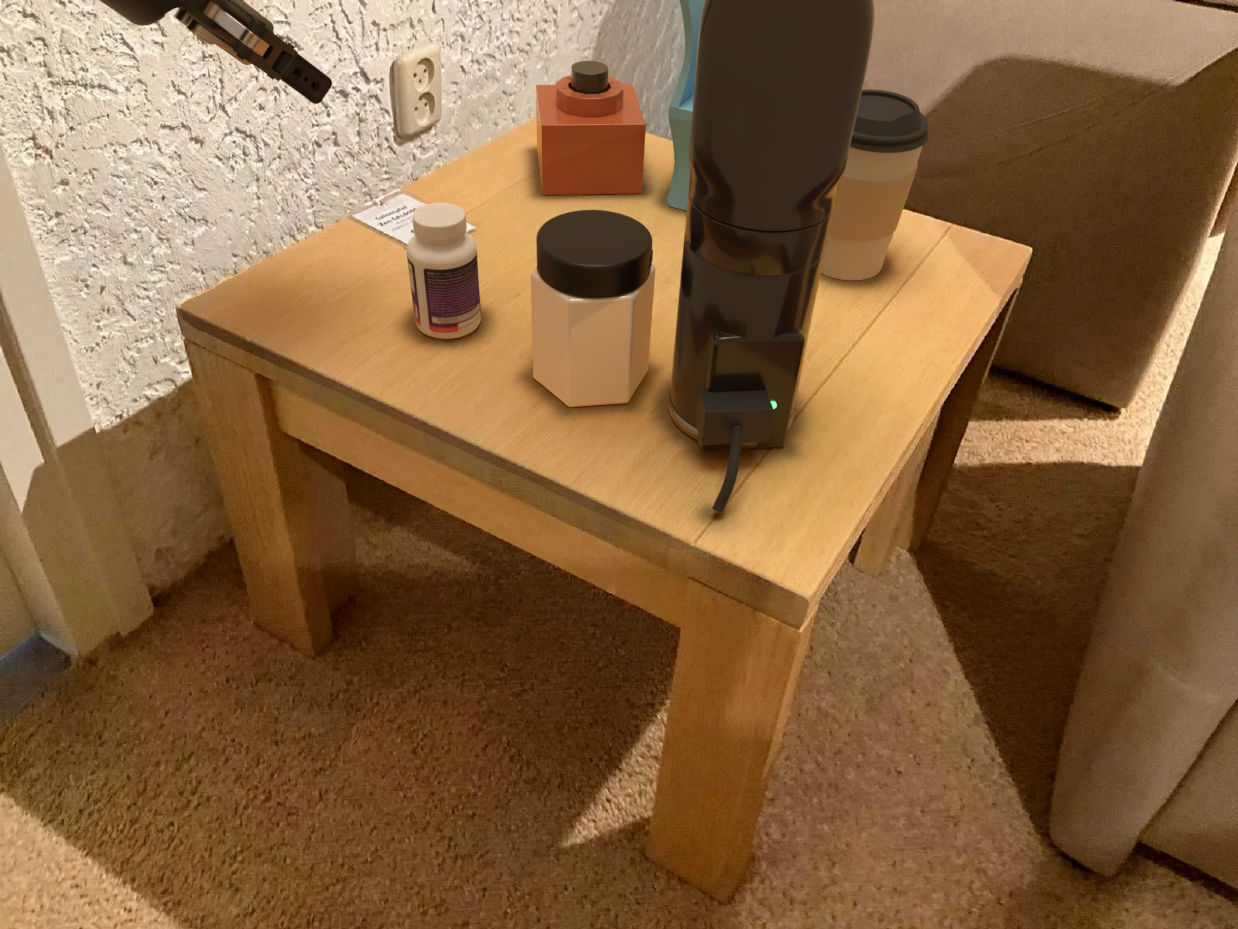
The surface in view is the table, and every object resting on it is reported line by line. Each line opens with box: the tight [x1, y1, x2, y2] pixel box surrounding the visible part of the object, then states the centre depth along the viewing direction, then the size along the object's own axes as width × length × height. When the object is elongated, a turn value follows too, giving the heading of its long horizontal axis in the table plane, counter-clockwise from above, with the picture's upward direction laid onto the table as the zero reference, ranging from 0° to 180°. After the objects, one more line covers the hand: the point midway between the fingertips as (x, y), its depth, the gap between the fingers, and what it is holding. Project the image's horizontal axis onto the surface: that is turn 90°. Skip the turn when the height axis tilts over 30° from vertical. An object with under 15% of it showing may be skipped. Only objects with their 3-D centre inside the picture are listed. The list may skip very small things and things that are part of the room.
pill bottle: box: [406, 202, 482, 340], centre depth 79 cm, size 5×5×10 cm
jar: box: [530, 209, 656, 408], centre depth 73 cm, size 9×8×12 cm
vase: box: [666, 0, 704, 212], centre depth 94 cm, size 8×8×20 cm
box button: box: [570, 60, 609, 94], centre depth 97 cm, size 4×4×2 cm
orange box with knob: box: [535, 74, 647, 196], centre depth 100 cm, size 10×10×9 cm
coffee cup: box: [821, 88, 929, 281], centre depth 87 cm, size 9×9×15 cm
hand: (321, 90), depth 74 cm, fingers closed
